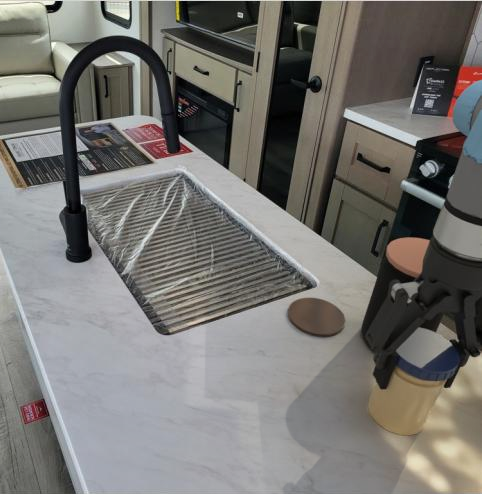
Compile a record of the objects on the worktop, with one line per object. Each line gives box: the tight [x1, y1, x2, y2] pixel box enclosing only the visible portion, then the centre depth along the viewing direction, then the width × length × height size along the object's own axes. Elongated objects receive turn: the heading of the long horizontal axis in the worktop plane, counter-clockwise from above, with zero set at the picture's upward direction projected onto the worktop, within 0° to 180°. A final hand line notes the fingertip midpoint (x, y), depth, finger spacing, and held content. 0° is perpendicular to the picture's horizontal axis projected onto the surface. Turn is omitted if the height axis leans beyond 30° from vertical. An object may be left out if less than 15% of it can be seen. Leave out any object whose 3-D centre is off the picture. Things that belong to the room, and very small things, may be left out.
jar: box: [367, 365, 447, 436], centre depth 67 cm, size 8×8×12 cm
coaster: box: [287, 297, 346, 338], centre depth 87 cm, size 10×10×1 cm
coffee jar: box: [360, 236, 446, 353], centre depth 77 cm, size 11×11×18 cm
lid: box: [396, 328, 460, 381], centre depth 63 cm, size 8×8×2 cm
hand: (410, 380), depth 66 cm, fingers closed on lid, 8 cm apart
